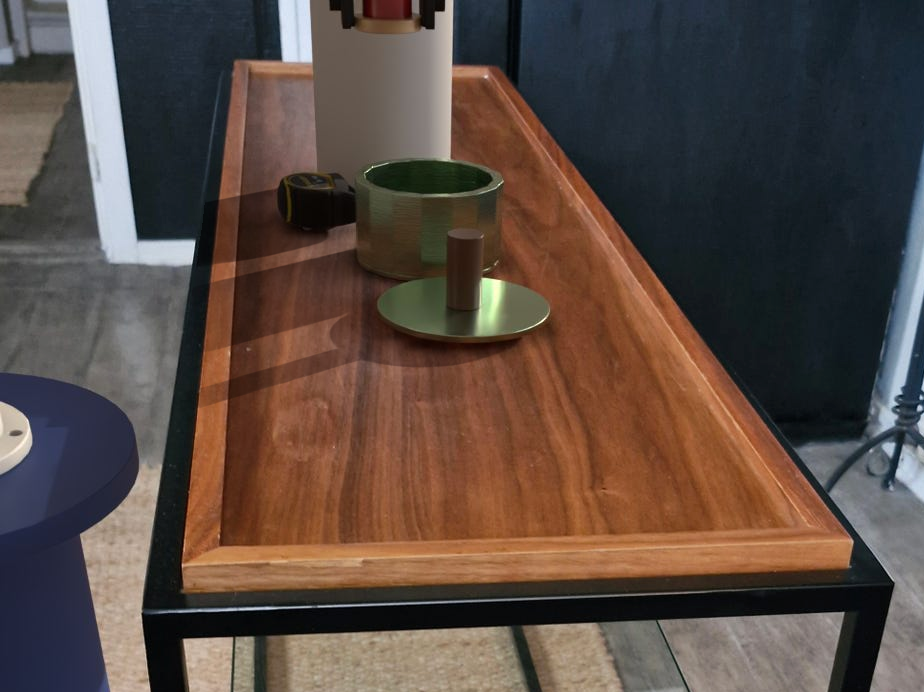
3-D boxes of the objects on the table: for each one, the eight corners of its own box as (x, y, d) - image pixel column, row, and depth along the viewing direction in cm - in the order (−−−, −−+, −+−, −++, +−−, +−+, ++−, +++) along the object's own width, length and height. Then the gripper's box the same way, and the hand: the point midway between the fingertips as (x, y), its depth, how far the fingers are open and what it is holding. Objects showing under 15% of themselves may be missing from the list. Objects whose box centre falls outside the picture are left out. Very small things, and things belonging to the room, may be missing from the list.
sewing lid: (384, 353, 84) (382, 263, 80) (371, 291, 94) (369, 208, 90) (563, 350, 85) (570, 261, 82) (533, 289, 95) (538, 207, 91)
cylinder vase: (429, 169, 122) (432, -136, 107) (465, 204, 113) (474, -124, 98) (306, 174, 119) (290, -139, 104) (333, 211, 110) (320, -127, 95)
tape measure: (366, 234, 105) (365, 188, 103) (288, 239, 103) (285, 192, 101) (347, 211, 110) (345, 167, 108) (271, 216, 108) (268, 171, 106)
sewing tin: (362, 283, 95) (359, 197, 91) (353, 238, 104) (351, 157, 100) (509, 281, 96) (513, 196, 93) (488, 237, 105) (490, 157, 101)
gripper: (529, -367, 67) (515, 16, 78) (217, -380, 65) (249, 14, 76) (552, -378, 61) (533, 38, 72) (209, -393, 59) (245, 36, 70)
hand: (387, 22), depth 74 cm, fingers closed on spool, 4 cm apart
